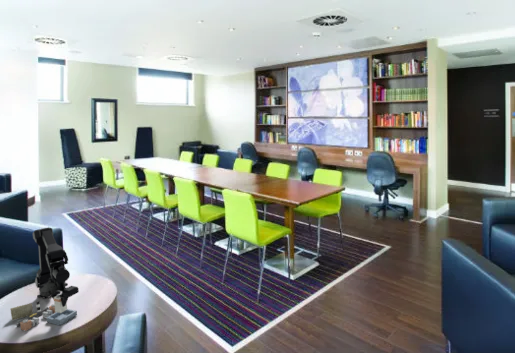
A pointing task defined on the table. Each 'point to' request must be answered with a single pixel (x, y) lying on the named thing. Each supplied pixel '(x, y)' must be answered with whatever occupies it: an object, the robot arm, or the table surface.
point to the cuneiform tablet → (23, 311)
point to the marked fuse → (59, 304)
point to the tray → (61, 317)
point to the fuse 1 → (25, 324)
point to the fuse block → (45, 312)
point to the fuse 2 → (52, 308)
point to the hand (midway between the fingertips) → (60, 305)
